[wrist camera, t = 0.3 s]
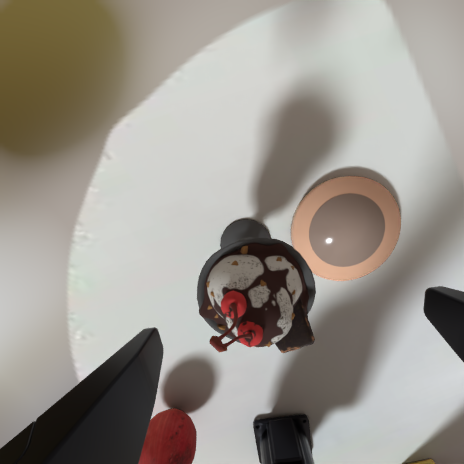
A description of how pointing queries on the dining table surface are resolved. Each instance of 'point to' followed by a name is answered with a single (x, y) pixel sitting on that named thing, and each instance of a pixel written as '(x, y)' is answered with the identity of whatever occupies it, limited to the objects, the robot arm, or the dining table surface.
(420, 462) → the candy box
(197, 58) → the dining table surface
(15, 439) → the robot arm
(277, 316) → the sundae
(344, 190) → the saucer
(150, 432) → the onion
